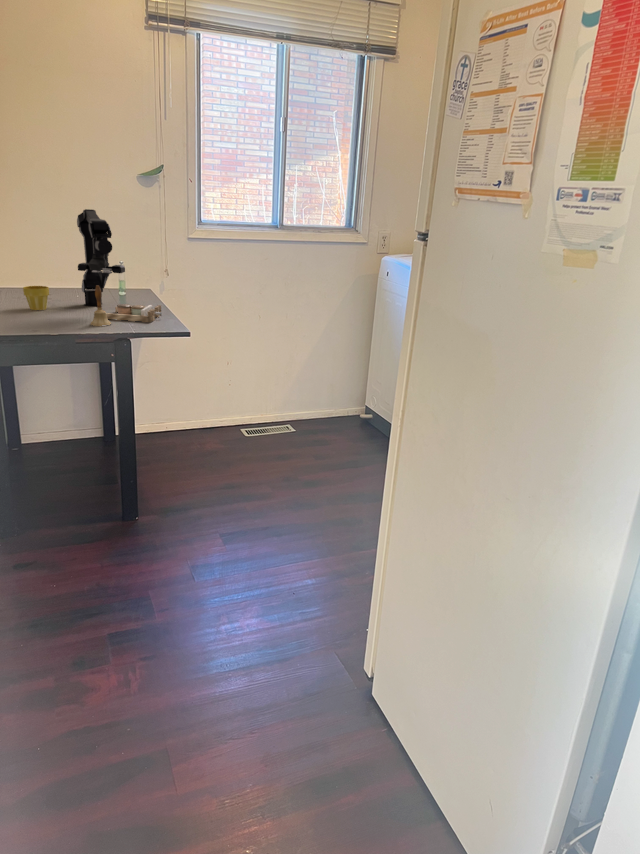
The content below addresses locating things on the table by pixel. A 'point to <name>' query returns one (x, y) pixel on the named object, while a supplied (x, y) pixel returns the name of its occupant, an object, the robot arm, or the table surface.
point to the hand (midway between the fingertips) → (102, 288)
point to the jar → (124, 309)
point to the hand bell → (99, 310)
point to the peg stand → (146, 309)
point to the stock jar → (137, 309)
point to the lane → (148, 318)
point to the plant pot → (36, 297)
